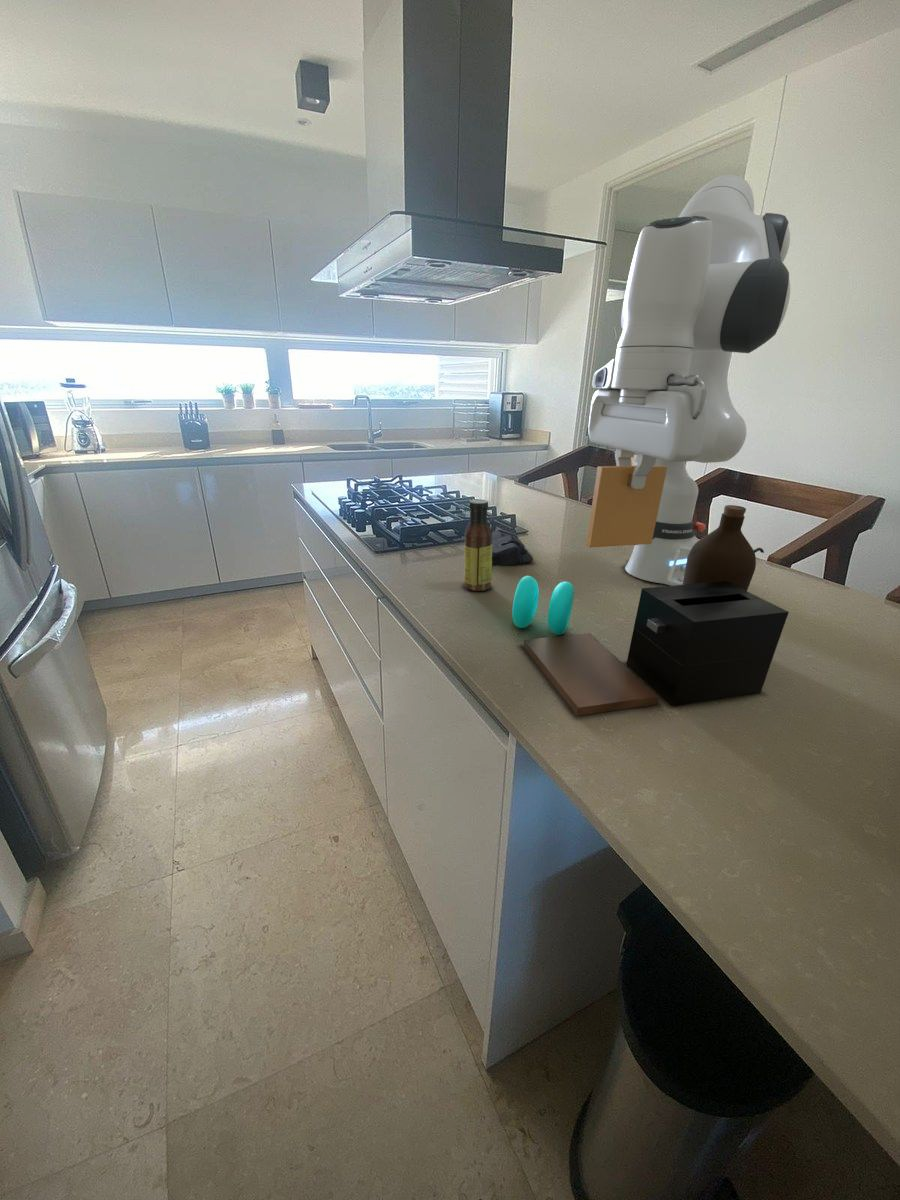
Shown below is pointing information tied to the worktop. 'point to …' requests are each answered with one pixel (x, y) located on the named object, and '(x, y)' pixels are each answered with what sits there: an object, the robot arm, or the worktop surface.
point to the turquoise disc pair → (528, 603)
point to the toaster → (704, 641)
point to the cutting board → (588, 674)
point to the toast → (624, 507)
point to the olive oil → (722, 553)
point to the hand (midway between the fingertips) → (629, 485)
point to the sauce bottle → (478, 548)
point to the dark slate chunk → (508, 549)
